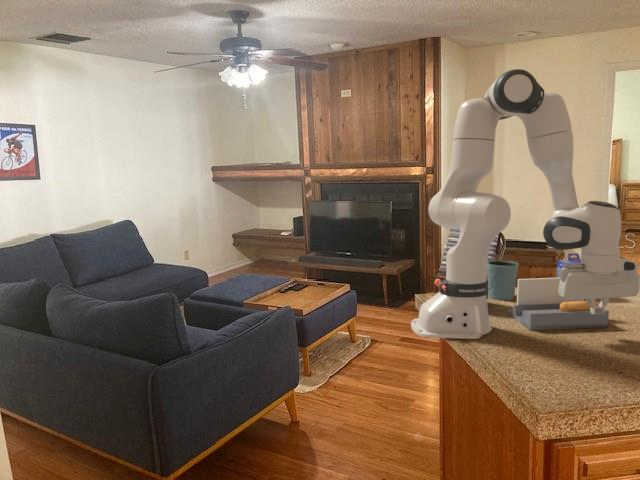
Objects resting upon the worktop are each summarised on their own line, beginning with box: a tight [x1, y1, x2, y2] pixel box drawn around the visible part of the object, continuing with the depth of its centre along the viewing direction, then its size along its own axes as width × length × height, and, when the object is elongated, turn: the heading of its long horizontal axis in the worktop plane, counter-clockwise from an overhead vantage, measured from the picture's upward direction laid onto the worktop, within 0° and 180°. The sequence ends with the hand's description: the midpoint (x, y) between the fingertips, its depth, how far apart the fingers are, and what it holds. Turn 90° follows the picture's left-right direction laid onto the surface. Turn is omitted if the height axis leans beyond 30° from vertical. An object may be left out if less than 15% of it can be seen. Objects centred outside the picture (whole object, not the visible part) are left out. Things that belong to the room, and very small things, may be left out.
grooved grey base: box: [507, 303, 610, 331], centre depth 150 cm, size 22×16×5 cm
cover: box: [516, 277, 585, 305], centre depth 152 cm, size 20×8×1 cm
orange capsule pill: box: [560, 300, 600, 312], centre depth 144 cm, size 11×3×3 cm, turn 91°
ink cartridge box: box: [556, 252, 581, 278], centre depth 173 cm, size 10×6×14 cm, turn 89°
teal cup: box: [487, 259, 520, 301], centre depth 175 cm, size 10×10×12 cm
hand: (597, 313), depth 136 cm, fingers closed
